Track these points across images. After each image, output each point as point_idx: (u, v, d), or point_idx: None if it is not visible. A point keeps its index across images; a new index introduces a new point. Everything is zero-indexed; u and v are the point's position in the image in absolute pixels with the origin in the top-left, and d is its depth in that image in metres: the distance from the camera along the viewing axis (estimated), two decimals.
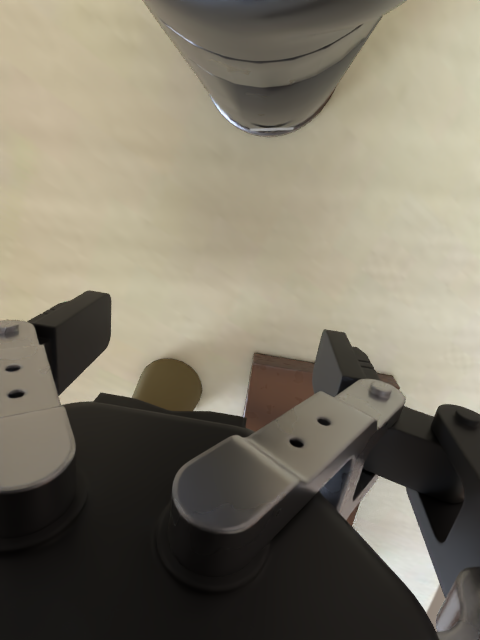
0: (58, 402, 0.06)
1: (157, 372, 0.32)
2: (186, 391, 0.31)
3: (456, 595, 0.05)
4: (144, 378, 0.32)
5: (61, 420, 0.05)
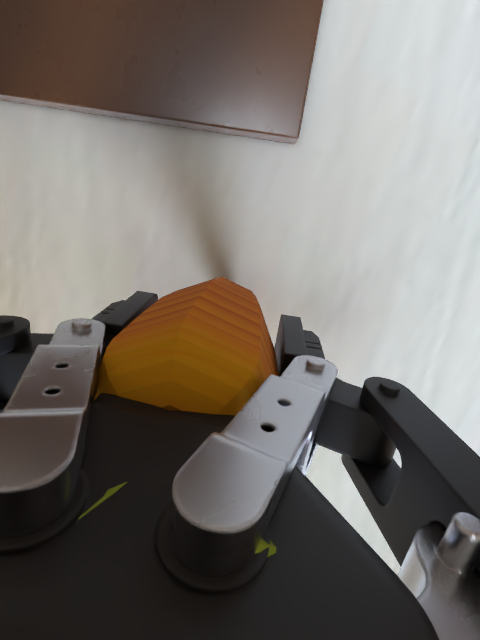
0: (85, 405, 0.06)
1: None
2: None
3: (418, 557, 0.06)
4: None
5: (73, 425, 0.05)
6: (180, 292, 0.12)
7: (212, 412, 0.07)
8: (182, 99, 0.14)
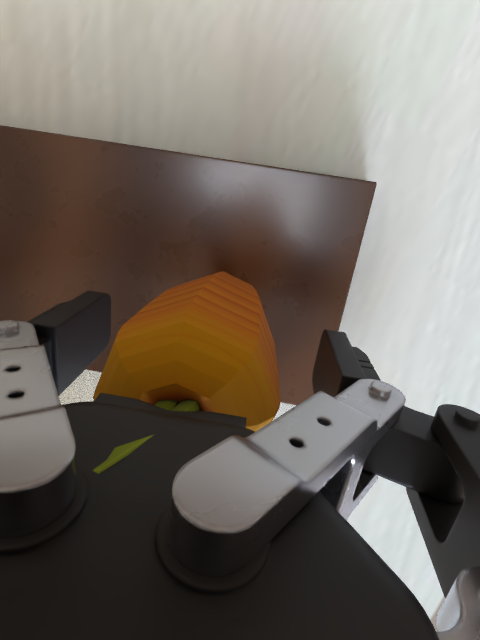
0: (58, 402, 0.06)
1: None
2: None
3: (456, 595, 0.05)
4: None
5: (61, 420, 0.05)
6: (184, 284, 0.13)
7: (214, 390, 0.08)
8: None
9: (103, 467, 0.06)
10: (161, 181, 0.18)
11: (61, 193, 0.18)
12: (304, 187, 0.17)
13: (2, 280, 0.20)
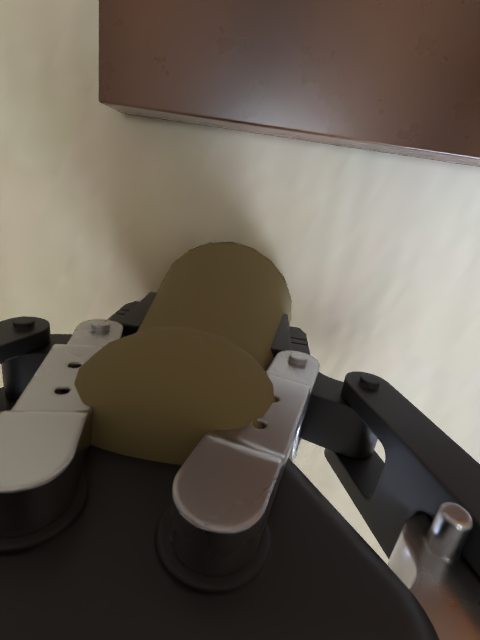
0: (92, 407, 0.06)
1: None
2: (175, 274, 0.13)
3: (407, 549, 0.06)
4: None
5: (75, 427, 0.05)
6: None
7: None
8: None
9: None
10: None
11: None
12: None
13: None
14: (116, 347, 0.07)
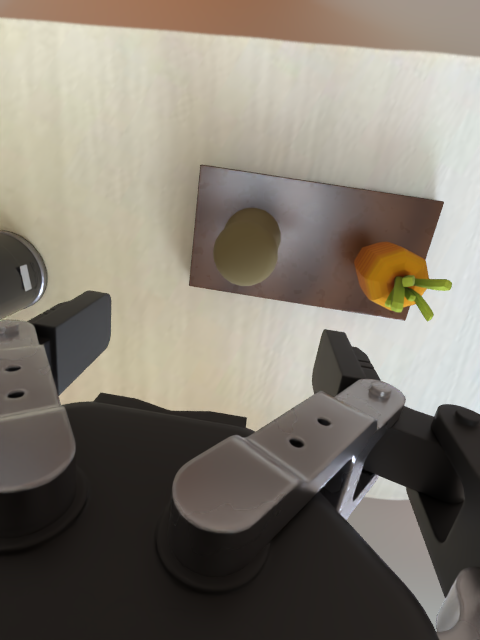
0: (58, 402, 0.06)
1: None
2: (235, 217, 0.35)
3: (456, 595, 0.05)
4: None
5: (61, 420, 0.05)
6: (375, 245, 0.31)
7: (416, 271, 0.27)
8: (365, 307, 0.40)
9: (411, 277, 0.24)
10: (338, 200, 0.36)
11: (285, 206, 0.37)
12: (408, 203, 0.36)
13: None
14: (234, 223, 0.28)
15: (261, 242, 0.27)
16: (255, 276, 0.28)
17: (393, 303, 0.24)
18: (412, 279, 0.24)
